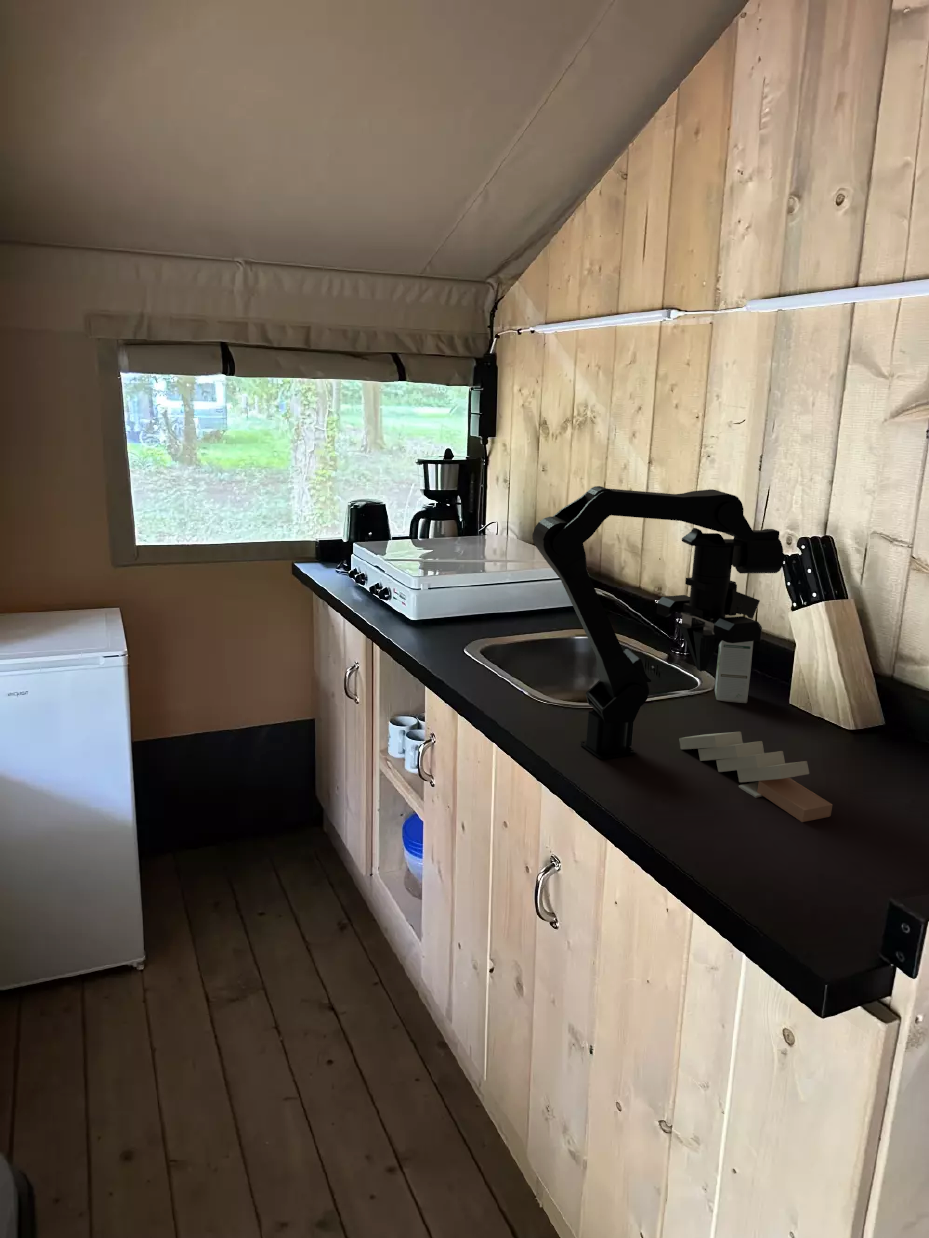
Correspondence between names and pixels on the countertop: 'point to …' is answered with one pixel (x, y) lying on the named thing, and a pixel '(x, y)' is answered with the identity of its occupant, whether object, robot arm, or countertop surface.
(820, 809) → the domino
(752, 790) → the plate
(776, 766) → the domino
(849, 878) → the countertop surface
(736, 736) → the domino
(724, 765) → the domino
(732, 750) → the domino
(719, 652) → the syrup box
